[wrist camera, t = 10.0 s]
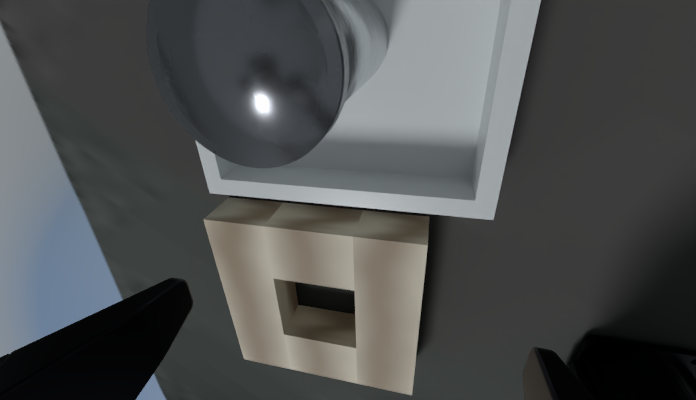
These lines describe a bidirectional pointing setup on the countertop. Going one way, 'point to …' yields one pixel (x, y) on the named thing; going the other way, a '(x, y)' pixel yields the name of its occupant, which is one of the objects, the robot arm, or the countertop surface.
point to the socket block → (325, 270)
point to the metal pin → (262, 70)
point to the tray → (415, 118)
